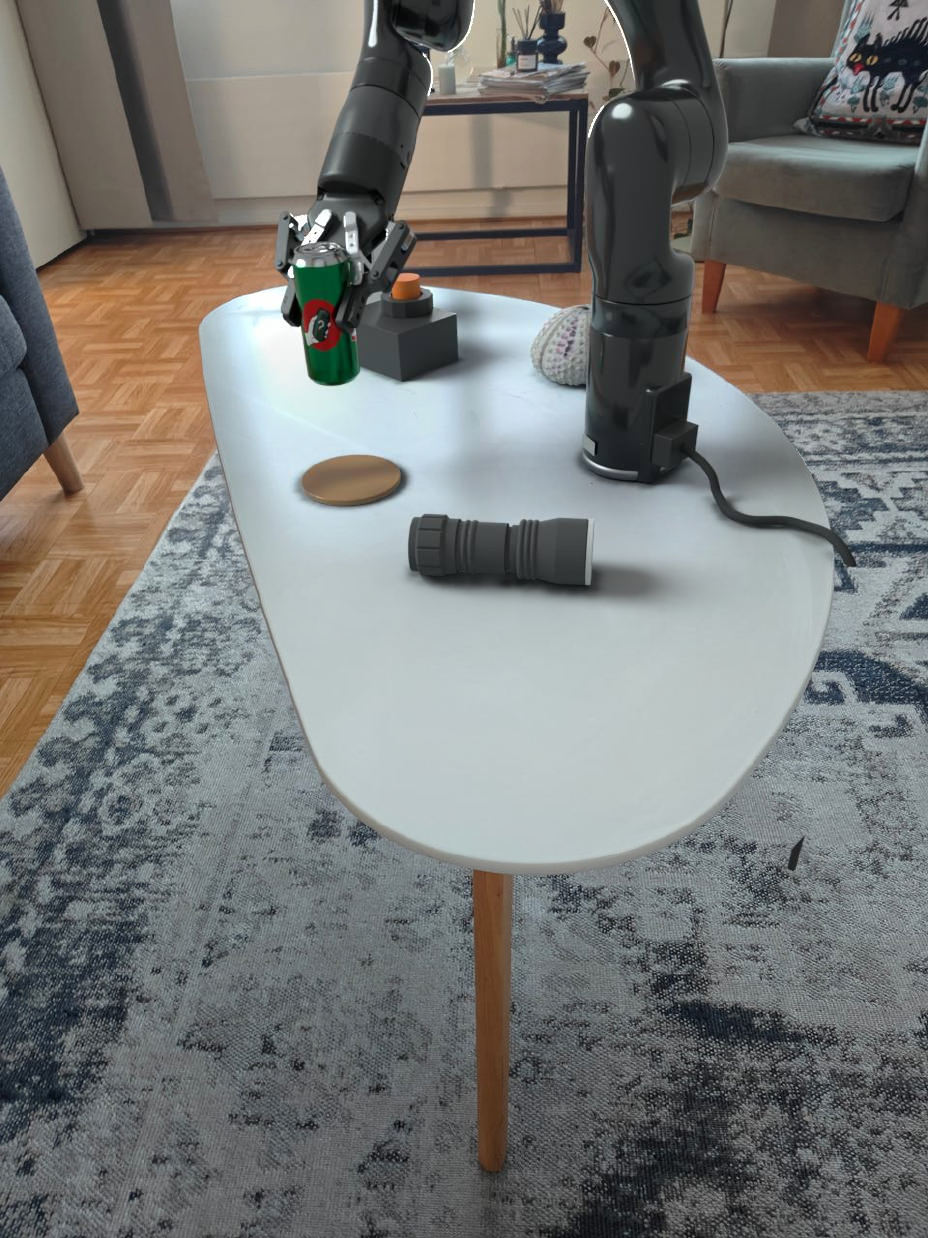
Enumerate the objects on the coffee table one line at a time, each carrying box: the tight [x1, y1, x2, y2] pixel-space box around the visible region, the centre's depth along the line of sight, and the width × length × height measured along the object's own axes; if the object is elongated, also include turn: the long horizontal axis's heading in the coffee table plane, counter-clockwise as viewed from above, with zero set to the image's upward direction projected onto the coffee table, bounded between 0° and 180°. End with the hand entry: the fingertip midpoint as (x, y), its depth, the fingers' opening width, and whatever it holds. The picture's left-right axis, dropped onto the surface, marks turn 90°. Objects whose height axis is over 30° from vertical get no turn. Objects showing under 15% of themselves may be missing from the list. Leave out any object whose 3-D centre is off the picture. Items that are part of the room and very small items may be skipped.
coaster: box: [300, 454, 402, 507], centre depth 91 cm, size 10×10×1 cm
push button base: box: [356, 286, 459, 383], centre depth 116 cm, size 12×10×8 cm
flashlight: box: [407, 513, 595, 586], centre depth 75 cm, size 15×5×5 cm, turn 81°
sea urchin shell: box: [529, 303, 591, 386], centre depth 110 cm, size 13×14×8 cm
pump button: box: [392, 272, 421, 300], centre depth 114 cm, size 4×4×2 cm
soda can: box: [291, 242, 361, 387], centre depth 83 cm, size 5×5×12 cm
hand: (317, 325), depth 82 cm, fingers closed on soda can, 5 cm apart
